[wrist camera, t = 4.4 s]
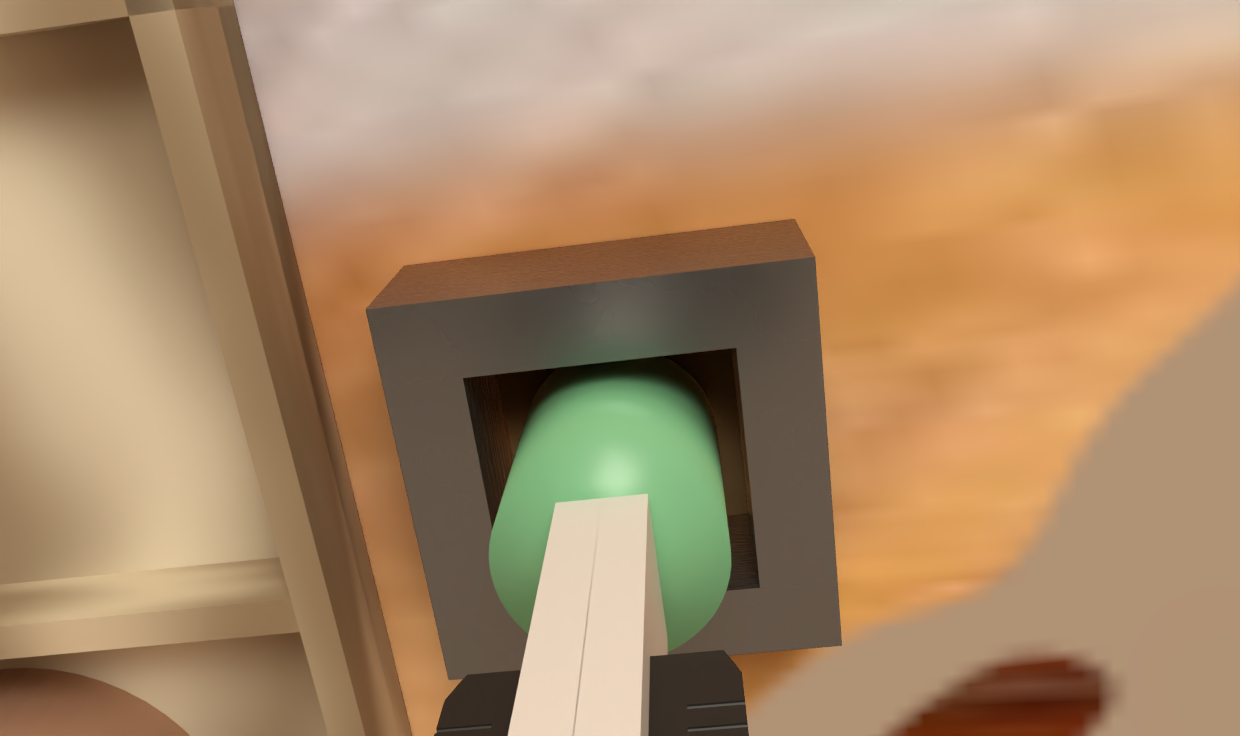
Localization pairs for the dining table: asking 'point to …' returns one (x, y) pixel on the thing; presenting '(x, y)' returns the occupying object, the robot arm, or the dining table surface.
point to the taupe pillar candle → (74, 707)
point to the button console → (604, 332)
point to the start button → (620, 481)
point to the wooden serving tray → (169, 389)
